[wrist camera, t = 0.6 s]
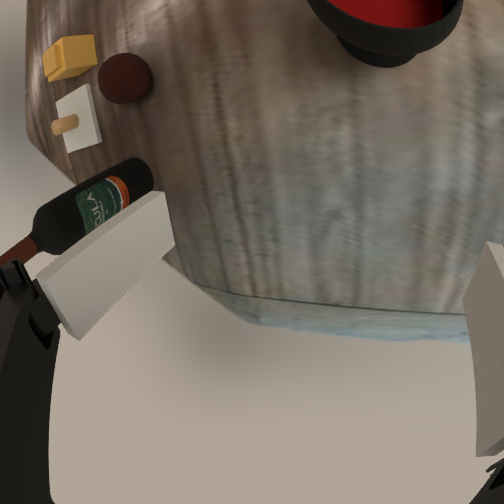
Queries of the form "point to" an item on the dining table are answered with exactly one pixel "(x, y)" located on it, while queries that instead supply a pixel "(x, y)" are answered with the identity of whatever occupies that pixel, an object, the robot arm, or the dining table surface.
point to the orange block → (69, 57)
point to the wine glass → (388, 26)
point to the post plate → (85, 119)
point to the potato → (124, 78)
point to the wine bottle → (83, 209)
